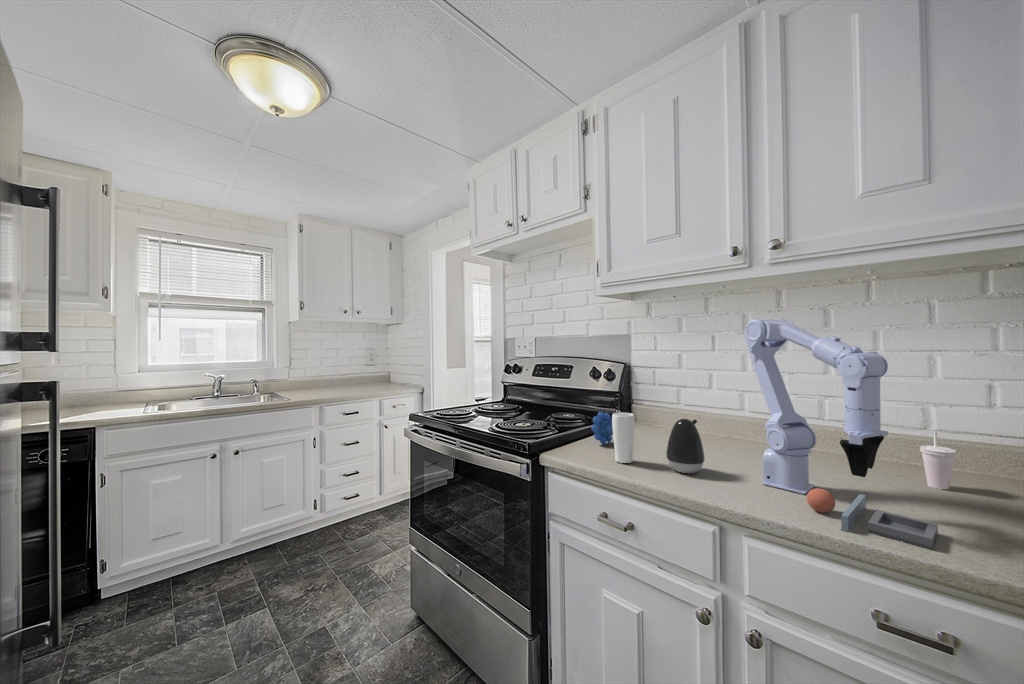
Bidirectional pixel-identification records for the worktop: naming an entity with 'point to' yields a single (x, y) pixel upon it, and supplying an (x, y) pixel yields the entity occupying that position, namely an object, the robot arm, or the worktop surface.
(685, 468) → the black egg-shaped device
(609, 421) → the grapes
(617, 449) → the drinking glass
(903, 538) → the tray
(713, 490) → the worktop surface
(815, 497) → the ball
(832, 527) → the worktop surface
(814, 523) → the worktop surface
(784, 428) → the robot arm
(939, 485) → the smoothie
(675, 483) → the worktop surface
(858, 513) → the low wall
